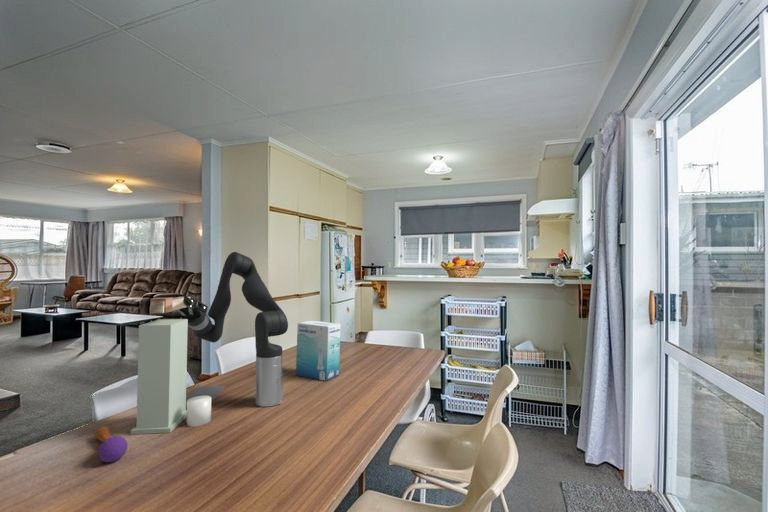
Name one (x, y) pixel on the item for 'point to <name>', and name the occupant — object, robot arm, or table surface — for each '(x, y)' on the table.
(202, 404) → the white short cylinder
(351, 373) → the table surface
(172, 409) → the stand
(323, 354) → the toothbrush box
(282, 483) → the table surface
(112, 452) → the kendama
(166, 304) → the catapult arm
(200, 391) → the mat
